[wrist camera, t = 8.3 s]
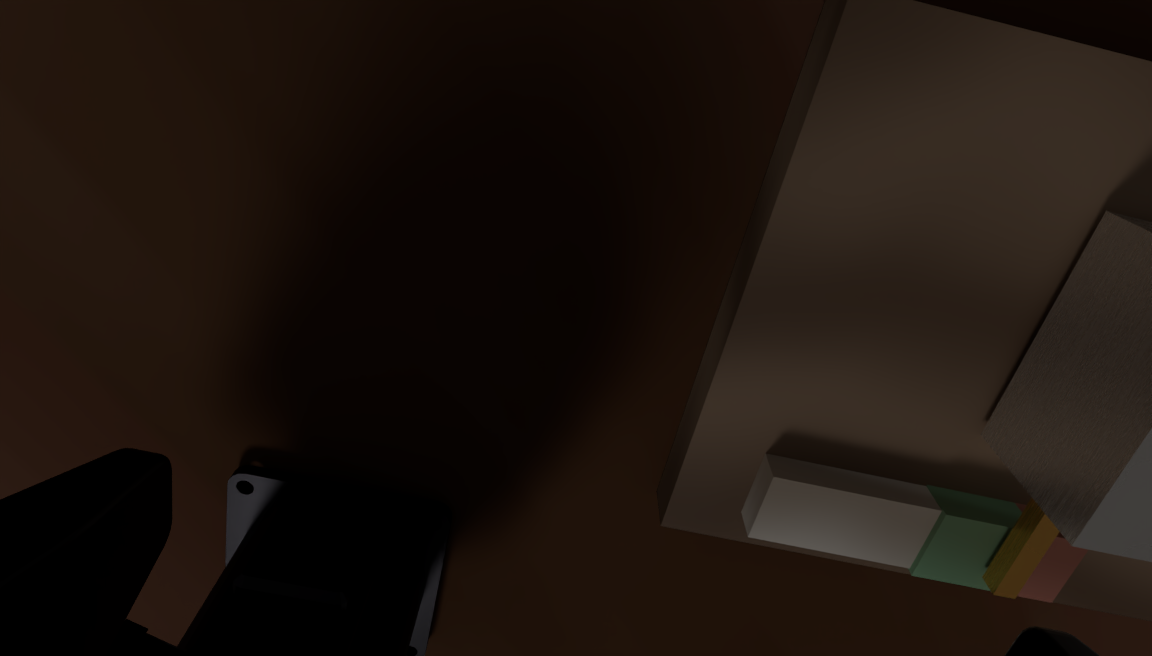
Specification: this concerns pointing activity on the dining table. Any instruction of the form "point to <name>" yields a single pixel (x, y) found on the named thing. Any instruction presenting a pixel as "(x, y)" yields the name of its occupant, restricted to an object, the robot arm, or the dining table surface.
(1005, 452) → the push plate
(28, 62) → the dining table surface
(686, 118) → the dining table surface
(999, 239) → the gauge base
